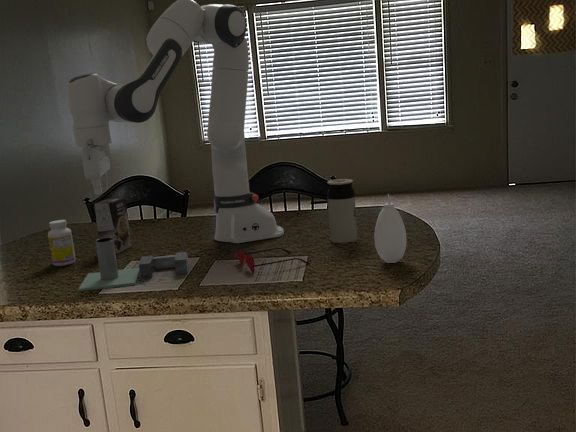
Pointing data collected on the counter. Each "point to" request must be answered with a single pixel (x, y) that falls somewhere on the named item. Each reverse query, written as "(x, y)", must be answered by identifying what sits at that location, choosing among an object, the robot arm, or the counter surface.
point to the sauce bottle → (390, 234)
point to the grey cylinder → (107, 258)
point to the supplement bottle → (61, 243)
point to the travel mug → (342, 211)
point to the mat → (123, 279)
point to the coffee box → (113, 222)
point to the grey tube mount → (163, 264)
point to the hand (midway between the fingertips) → (101, 191)
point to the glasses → (250, 259)
